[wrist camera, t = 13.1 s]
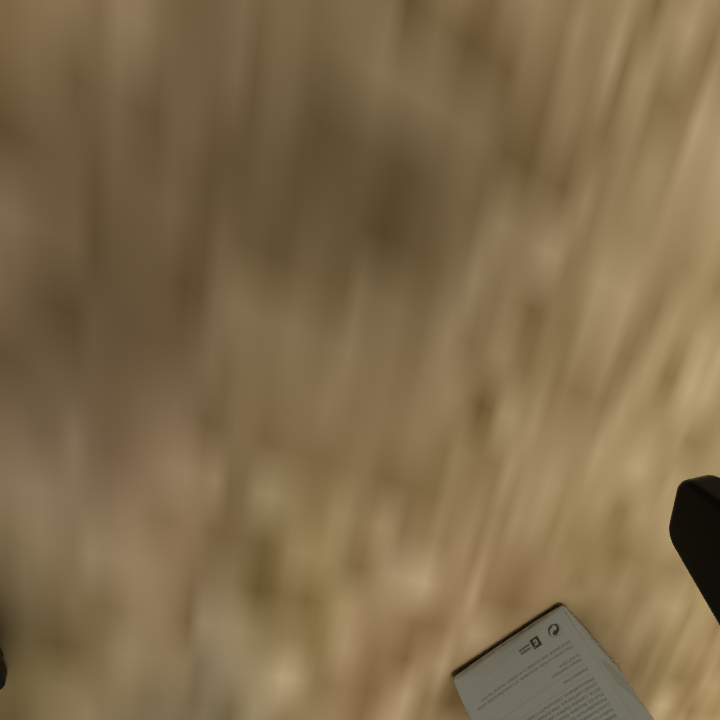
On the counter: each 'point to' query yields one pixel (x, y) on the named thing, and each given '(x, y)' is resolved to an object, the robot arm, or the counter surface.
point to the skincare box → (548, 677)
